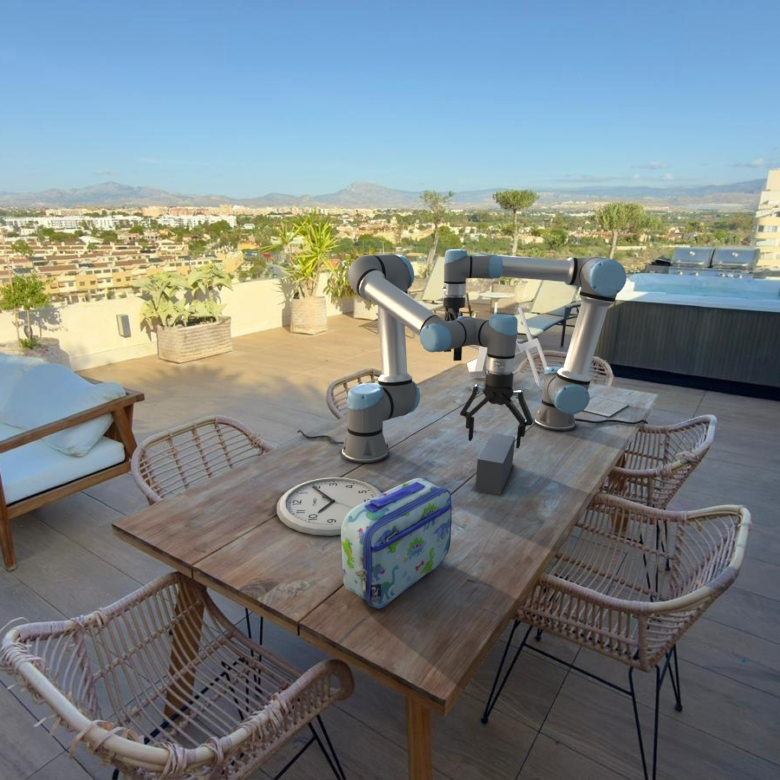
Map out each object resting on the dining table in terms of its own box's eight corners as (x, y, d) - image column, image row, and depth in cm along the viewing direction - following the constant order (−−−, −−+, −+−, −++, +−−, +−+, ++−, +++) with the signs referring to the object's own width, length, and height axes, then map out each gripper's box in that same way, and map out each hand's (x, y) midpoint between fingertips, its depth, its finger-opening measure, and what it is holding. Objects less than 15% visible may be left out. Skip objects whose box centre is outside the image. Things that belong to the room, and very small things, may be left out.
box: (490, 461, 172) (492, 433, 169) (512, 465, 169) (515, 436, 166) (475, 490, 152) (477, 458, 150) (500, 495, 150) (503, 463, 147)
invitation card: (608, 416, 214) (573, 407, 224) (608, 416, 214) (573, 408, 224) (628, 404, 229) (594, 396, 238) (628, 405, 229) (594, 397, 238)
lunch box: (370, 622, 101) (370, 527, 94) (335, 595, 108) (333, 505, 102) (455, 565, 118) (460, 481, 112) (420, 544, 125) (423, 465, 119)
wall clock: (392, 527, 129) (268, 531, 127) (391, 533, 130) (269, 537, 127) (383, 473, 158) (282, 475, 155) (383, 478, 158) (282, 480, 156)
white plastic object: (488, 419, 266) (468, 396, 241) (469, 346, 288) (449, 319, 263) (559, 395, 254) (545, 368, 229) (533, 321, 276) (519, 290, 251)
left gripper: (452, 369, 144) (448, 440, 151) (545, 380, 136) (537, 455, 142) (458, 363, 151) (454, 431, 157) (548, 373, 143) (540, 444, 149)
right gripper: (435, 291, 191) (433, 348, 198) (453, 300, 168) (451, 365, 174) (455, 291, 192) (453, 347, 199) (475, 300, 169) (472, 364, 175)
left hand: (493, 442), depth 150 cm, fingers open, 13 cm apart
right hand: (452, 356), depth 186 cm, fingers open, 13 cm apart
